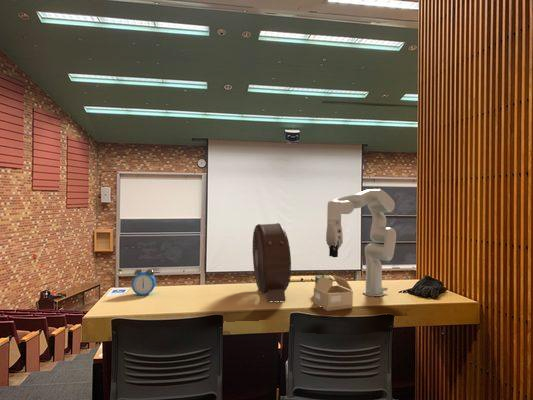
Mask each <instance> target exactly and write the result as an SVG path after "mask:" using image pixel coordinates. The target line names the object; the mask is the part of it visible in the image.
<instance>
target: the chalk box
mask: <svg viewBox="0 0 533 400" xmlns="http://www.w3.org/2000/svg"><path fill="white" fill-rule="evenodd" d="M320 272H321V275H315V277H314V278H315V279H314V282H315V285H316V283H317V282H318V280H319V278H320V277H321V276H322V277H324V278H327V279H330V280H332V281H333V277H331V276H330V275H325V274H324V272H323V271H322V270H321V271H320ZM315 285H314V286H315ZM331 286H333V284H332V285H331Z"/></svg>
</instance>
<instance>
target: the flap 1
mask: <svg viewBox="0 0 533 400" xmlns="http://www.w3.org/2000/svg"><path fill="white" fill-rule="evenodd" d="M320 276H321V277H320V278H319V280H318V282H317V283H316V285H314V287H316V288H318V289H320V290H322V291H324V292H328V290H329V289H330V287H331V285H332V286H333V284H334V281H335V280H333V279H332V280H330V279H327V278H324V277H322V275H320Z"/></svg>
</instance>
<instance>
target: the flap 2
mask: <svg viewBox="0 0 533 400" xmlns="http://www.w3.org/2000/svg"><path fill="white" fill-rule="evenodd" d="M332 276H333V277H332V278H333V279H334V281H335V282H336V283H337V285H338V286H341V287H343V288H346V289H348V290H351V291H353V289H352V287H351V286H350V284H349V283H348V281H347V279H346V278H345V279H344V278H342V277H339V276H336V275H333V274H332Z"/></svg>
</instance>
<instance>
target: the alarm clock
mask: <svg viewBox="0 0 533 400" xmlns="http://www.w3.org/2000/svg"><path fill="white" fill-rule="evenodd" d="M130 285H131V289H132V291H133V293H135V294H136V296H150V294H151V293H152V291H153V290H154V289H155V288H156V286H157V280H156V277H155V271H154V270H153V269H150V268H148V269H146V270H144V269H143V270H142V269H135V270H134V272H133V278H132V281H131V284H130Z"/></svg>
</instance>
